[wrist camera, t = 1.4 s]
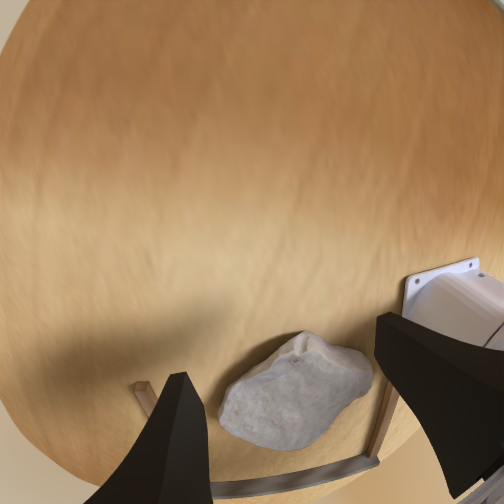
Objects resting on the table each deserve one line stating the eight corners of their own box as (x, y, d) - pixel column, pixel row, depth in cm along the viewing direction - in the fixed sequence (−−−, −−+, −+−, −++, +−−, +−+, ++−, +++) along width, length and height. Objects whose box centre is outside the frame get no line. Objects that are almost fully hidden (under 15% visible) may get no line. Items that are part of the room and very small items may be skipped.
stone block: (210, 394, 24) (294, 432, 25) (201, 428, 20) (297, 465, 20) (281, 300, 22) (370, 352, 23) (283, 326, 18) (388, 382, 18)
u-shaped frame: (407, 332, 22) (421, 347, 20) (372, 453, 30) (378, 465, 27) (136, 382, 21) (130, 402, 19) (204, 485, 29) (204, 499, 26)
